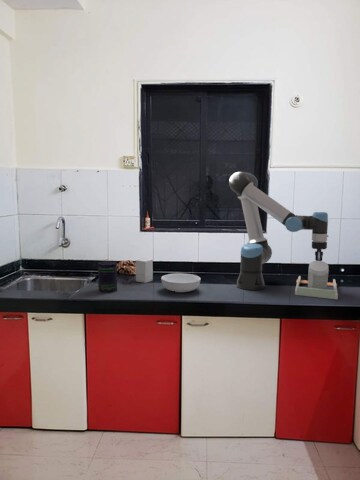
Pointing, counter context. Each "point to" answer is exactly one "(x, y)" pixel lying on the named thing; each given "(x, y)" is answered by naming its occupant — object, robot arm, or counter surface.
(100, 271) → the storage jar
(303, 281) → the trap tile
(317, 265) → the supplement tub
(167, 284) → the serving bowl
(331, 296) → the channel
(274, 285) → the counter surface
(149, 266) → the supplement box
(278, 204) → the robot arm
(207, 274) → the counter surface
